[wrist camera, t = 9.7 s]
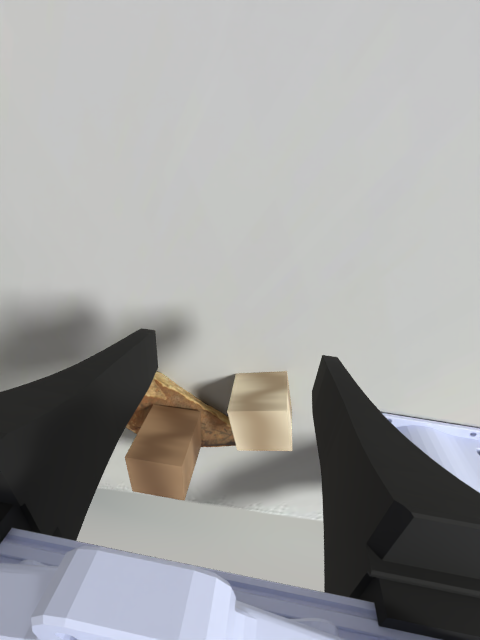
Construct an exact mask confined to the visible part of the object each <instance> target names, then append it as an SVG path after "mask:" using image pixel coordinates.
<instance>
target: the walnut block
mask: <svg viewBox="0 0 480 640" xmlns="http://www.w3.org/2000/svg"><path fill="white" fill-rule="evenodd" d="M200 447H201V411H194V410H188V409H181V408H174V407H167V406H160V405H154V404H153V406H152V408H151V410H150V412H149V413H148V415H147V417H146V419H145V421H144V423H143V424H142V426H141V428H140V430H139V432H138V434H137V436H136V437H135V439H134V441H133V443H132V445H131V447H130V449H129V450H128V452H127V454H126V456H125V460H126V465H127V469H128V473H129V478H130V482H131V487H132V491H134V492H140V493H145V494H151V495H156V496H162V497H168V498H173V499H179V500H185V497H186V494H187V490H188V487H189V484H190V480H191V477H192V474H193V470H194V467H195V464H196V460H197V457H198V454H199V450H200Z"/></svg>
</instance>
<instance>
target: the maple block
mask: <svg viewBox="0 0 480 640" xmlns="http://www.w3.org/2000/svg"><path fill="white" fill-rule="evenodd" d="M227 413H228V416H229V420H230V424H231V428H232V432H233V435H234V439H235V443H236V447H237V450H249V451H292V409H291V401H290V392H289V384H288V375H287V371H283V372H261V373H239V374H236V375H235V380H234V384H233V388H232V393H231V397H230V402H229V406H228V410H227Z"/></svg>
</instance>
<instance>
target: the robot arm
mask: <svg viewBox="0 0 480 640" xmlns="http://www.w3.org/2000/svg"><path fill="white" fill-rule="evenodd" d="M157 368H158V361H157V348H156V336H155V330H148V329H140V330H138V331H136V332H134V333H133V334H131V335H129V336H127V337H126V338H124V339H122V340H121V341H119V342H117V343H115V344H114V345H112V346H110V347H108V348H107V349H105V350H103V351H101V352H99V353H97V354H95V355H94V356H92V357H90V358H88V359H86V360H84V361H82V362H80V363H78V364H76V365H74V366H72V367H69V368H67V369H65V370H62V371H60V372H58V373H55V374H53V375H50V376H48V377H45V378H42V379H39V380H36V381H34V382H31V383H28V384H25V385H22V386H19V387H16V388H13V389H9V390H6V391H3V392H0V640H480V428H474V427H468V426H461V425H455V424H449V423H443V422H436V421H430V420H424V419H417V418H411V417H405V416H399V415H392V414H386V413H381V412H380V411H379V410H378V409H377V407H376V406H375V405H374V404H373V403H372V402H371V401H370V400H369V398H368V397H367V396H366V395H365V394H364V392H363V391H362V390H361V389H360V387H359V386H358V385H357V383H356V382H355V381H354V379H353V378H352V377H351V375H350V374H349V373H348V371H347V370H346V369H345V367H344V366H343V364H342V363H341V362H340V360H339V359H338V358H337V357H332V356H325V355H322V358H321V362H320V365H319V369H318V372H317V376H316V379H315V383H314V386H313V390H312V410H313V420H314V426H315V433H316V440H317V446H318V453H319V459H320V466H321V476H322V495H323V520H324V562H325V563H324V564H325V566H324V567H325V569H324V571H325V572H324V573H325V592H320V591H315V590H310V589H305V588H300V587H296V586H291V585H286V584H281V583H277V582H272V581H267V580H262V579H257V578H252V577H247V576H243V575H238V574H233V573H228V572H223V571H218V570H214V569H209V568H204V567H199V566H194V565H189V564H185V563H180V562H175V561H170V560H165V559H160V558H156V557H151V556H146V555H141V554H136V553H132V552H126V551H122V550H117V549H112V548H107V547H103V546H98V545H93V544H88V543H83V542H78V541H76V539H77V537H78V534H79V531H80V529H81V526H82V524H83V521H84V518H85V516H86V513H87V511H88V508H89V506H90V503H91V501H92V499H93V496H94V494H95V491H96V489H97V486H98V484H99V482H100V479H101V477H102V475H103V473H104V470H105V468H106V466H107V464H108V461H109V459H110V457H111V455H112V453H113V451H114V449H115V446H116V444H117V442H118V440H119V438H120V436H121V434H122V433H123V431H124V429H125V427H126V426H127V424H128V422H129V421H130V419H131V417H132V416H133V414H134V412H135V411H136V409H137V407H138V406H139V404H140V402H141V401H142V399H143V397H144V396H145V394H146V392H147V391H148V389H149V387H150V385H151V383H152V380H153V378H154V376H155V373H156V371H157Z"/></svg>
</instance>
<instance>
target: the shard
mask: <svg viewBox="0 0 480 640" xmlns="http://www.w3.org/2000/svg"><path fill="white" fill-rule="evenodd" d="M153 404H154V405H160V406H167V407H174V408H181V409H188V410H194V411H201V447H220V446H236V443H235V439H234V435H233V432H232V428H231V424H230V420H229V417H228V416H226V415H224V414H223V413H221V412H220V411H218V410H216V409H214V408H213V407H211V406H209V405H206V404H205V403H203V402H202V401H201V400H199V399H197V398H196V397H195V396H193V395H192V394H191V393H189V392H187V391H186V390H184V389H183V388H181V387H179V386H178V385H177V384H176V383H174V382H173V381H171V380H170V379H169V378H167V377H166V376H165V375H164V374H162V373H159V372H157V371H156V373H155V376H154V378H153V380H152V383H151V385H150V387H149V389H148V391H147V392H146V394H145V396H144V397H143V399H142V401H141V402H140V404H139V406H138V407H137V409H136V411H135V412H134V414H133V416H132V417H131V419H130V421H129V422H128V424H127V426H126V428H127V429H129V430H131V431H133V432H134V433H136V434H138V432H139V430H140V428H141V426H142V424H143V423H144V421H145V419H146V417H147V415H148V413H149V412H150V410H151V408H152V406H153Z"/></svg>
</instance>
